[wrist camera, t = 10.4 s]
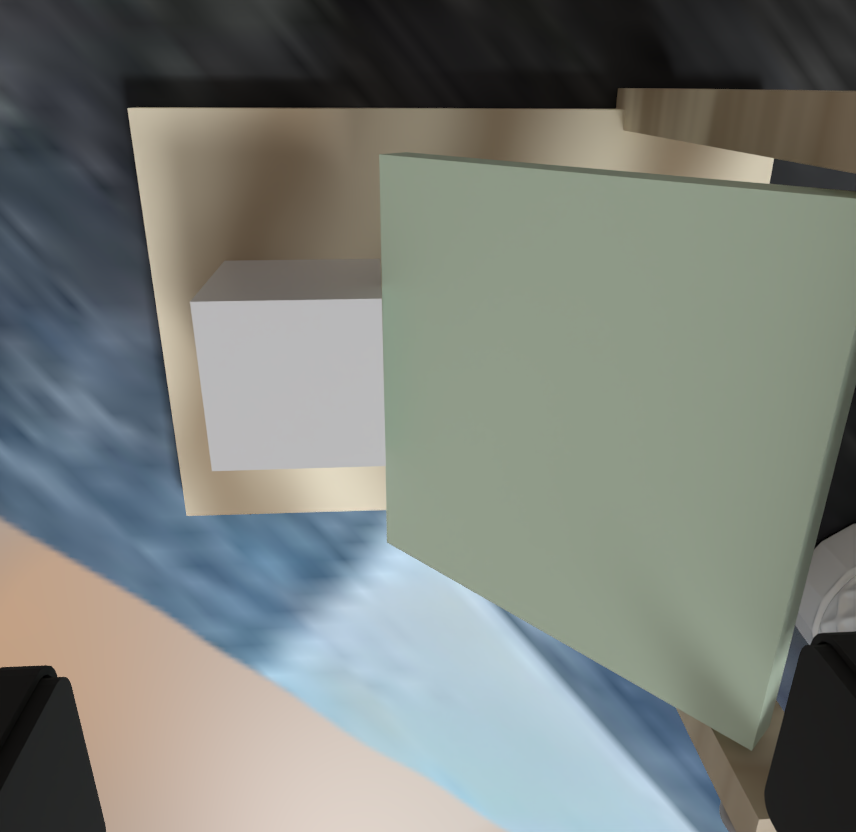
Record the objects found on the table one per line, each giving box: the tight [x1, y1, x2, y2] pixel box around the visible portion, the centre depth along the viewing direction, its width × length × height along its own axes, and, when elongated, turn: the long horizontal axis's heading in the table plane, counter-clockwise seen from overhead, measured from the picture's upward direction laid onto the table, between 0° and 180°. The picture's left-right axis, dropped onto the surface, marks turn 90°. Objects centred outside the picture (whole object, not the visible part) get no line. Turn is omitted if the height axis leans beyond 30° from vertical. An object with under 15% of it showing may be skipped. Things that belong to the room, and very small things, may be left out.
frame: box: [127, 88, 856, 832], centre depth 20 cm, size 20×17×15 cm
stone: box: [190, 259, 386, 471], centre depth 23 cm, size 5×5×5 cm
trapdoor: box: [379, 152, 856, 751], centre depth 17 cm, size 19×12×5 cm
